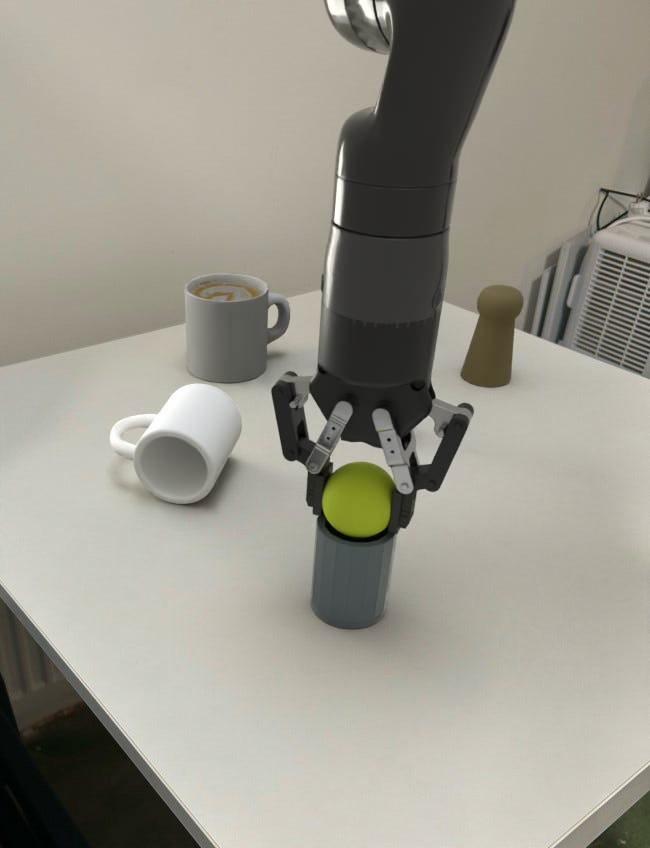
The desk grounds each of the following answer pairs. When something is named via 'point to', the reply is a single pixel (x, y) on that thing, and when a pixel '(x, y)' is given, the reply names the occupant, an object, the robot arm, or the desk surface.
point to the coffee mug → (230, 326)
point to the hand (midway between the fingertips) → (357, 518)
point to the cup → (351, 576)
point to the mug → (182, 443)
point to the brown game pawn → (493, 337)
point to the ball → (358, 499)
